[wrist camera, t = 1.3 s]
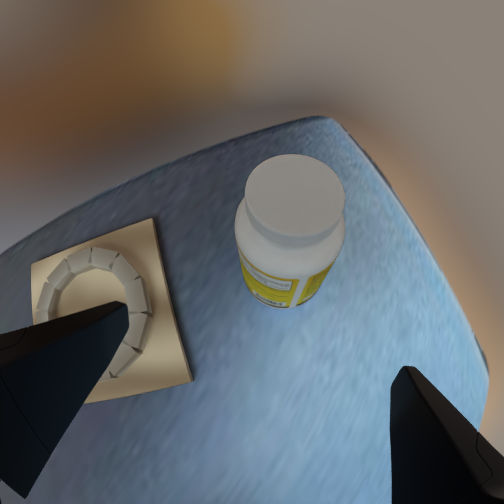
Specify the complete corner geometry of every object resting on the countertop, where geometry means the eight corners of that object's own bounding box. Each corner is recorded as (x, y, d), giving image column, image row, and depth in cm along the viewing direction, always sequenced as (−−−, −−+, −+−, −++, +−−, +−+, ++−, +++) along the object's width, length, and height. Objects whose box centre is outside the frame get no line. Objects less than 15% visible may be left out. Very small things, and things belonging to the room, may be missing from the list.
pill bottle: (309, 231, 25) (336, 136, 15) (329, 301, 22) (381, 238, 12) (236, 244, 24) (220, 151, 14) (250, 318, 22) (240, 265, 12)
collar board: (193, 381, 20) (187, 381, 18) (52, 407, 19) (38, 407, 17) (154, 222, 26) (147, 210, 24) (35, 267, 24) (24, 259, 22)
